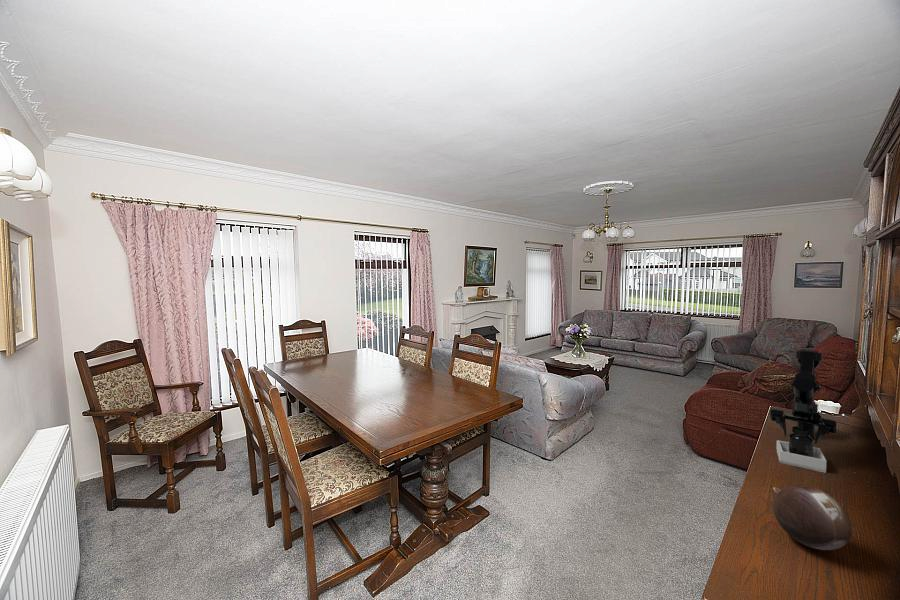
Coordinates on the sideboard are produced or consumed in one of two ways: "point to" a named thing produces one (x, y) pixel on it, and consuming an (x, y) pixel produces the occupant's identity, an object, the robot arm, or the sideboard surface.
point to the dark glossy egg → (812, 517)
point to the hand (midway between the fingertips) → (800, 439)
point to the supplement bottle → (800, 442)
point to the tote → (801, 458)
